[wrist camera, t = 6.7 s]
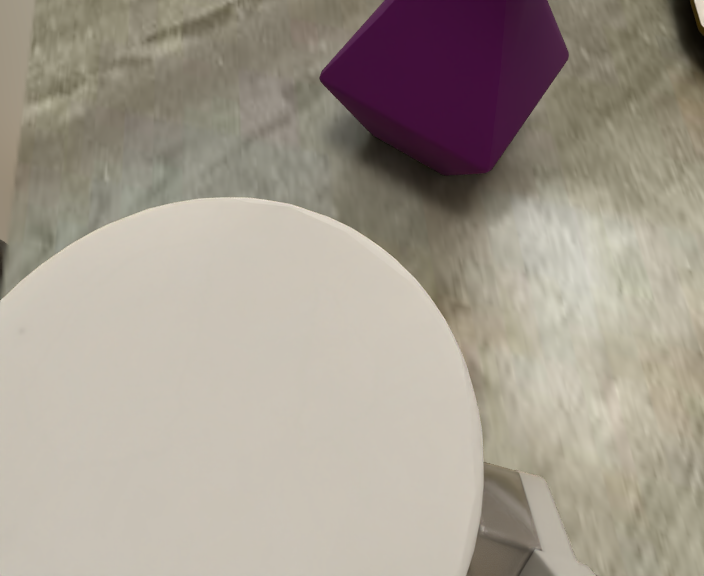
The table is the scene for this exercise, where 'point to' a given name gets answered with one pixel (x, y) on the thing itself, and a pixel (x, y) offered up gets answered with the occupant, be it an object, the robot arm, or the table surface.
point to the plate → (698, 14)
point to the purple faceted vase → (448, 76)
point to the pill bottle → (233, 405)
